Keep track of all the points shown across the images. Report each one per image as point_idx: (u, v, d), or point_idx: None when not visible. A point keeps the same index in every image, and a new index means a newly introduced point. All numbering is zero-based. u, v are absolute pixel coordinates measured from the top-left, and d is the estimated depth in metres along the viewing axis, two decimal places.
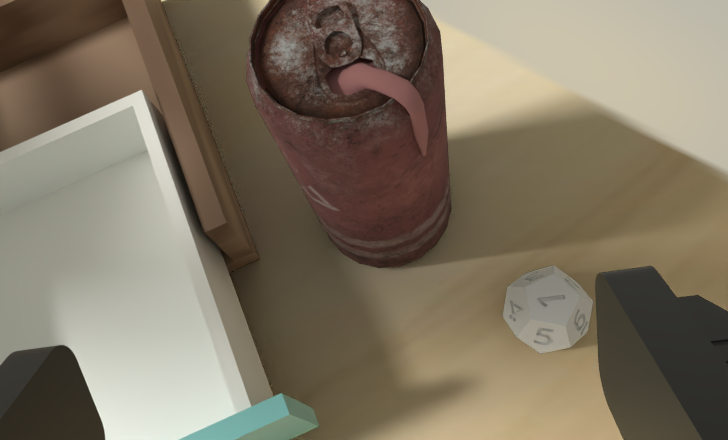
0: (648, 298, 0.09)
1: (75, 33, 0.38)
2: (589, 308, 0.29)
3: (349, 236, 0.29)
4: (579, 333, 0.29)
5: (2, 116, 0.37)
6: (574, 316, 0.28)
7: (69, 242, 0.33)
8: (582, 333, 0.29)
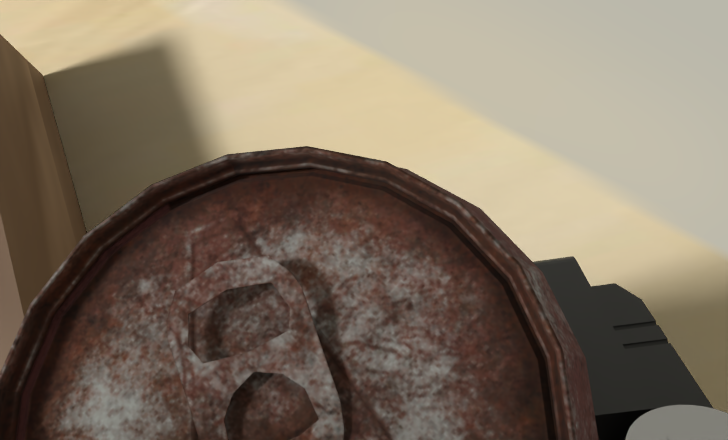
0: (563, 285, 0.09)
1: None
2: None
3: None
4: None
5: None
6: None
7: None
8: None
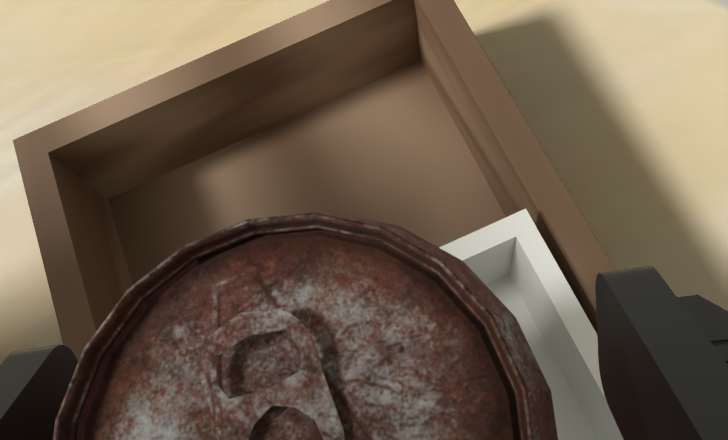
0: (648, 298, 0.09)
1: (326, 95, 0.26)
2: None
3: None
4: None
5: (226, 221, 0.25)
6: None
7: None
8: None
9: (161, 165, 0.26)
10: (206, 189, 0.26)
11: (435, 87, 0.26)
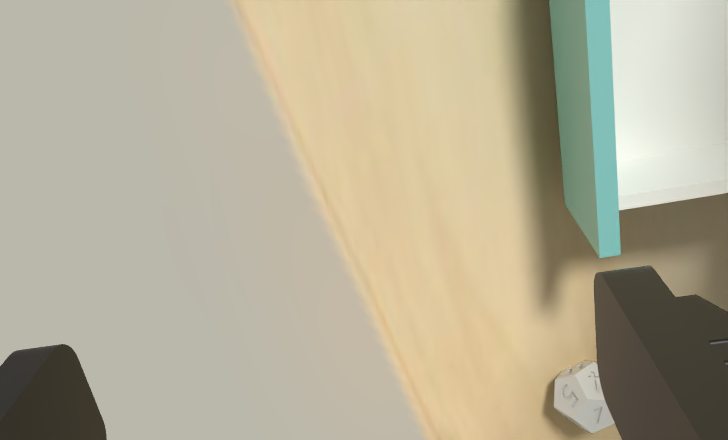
0: (646, 298, 0.09)
1: None
2: (578, 425, 0.36)
3: None
4: (561, 413, 0.36)
5: None
6: (577, 423, 0.35)
7: None
8: (560, 412, 0.36)
9: None
10: None
11: None
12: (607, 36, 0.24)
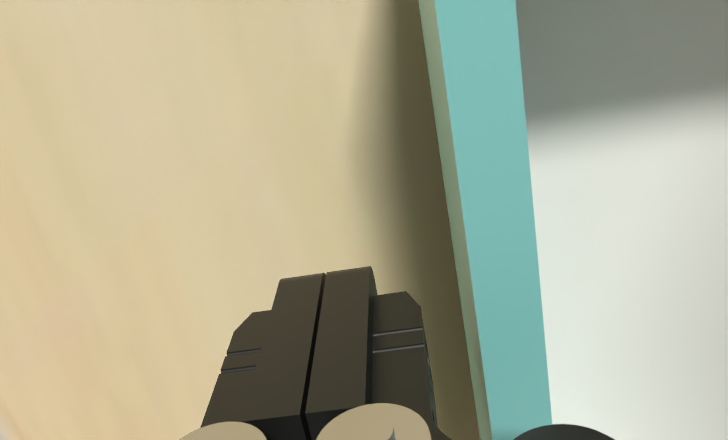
0: (346, 294, 0.10)
1: None
2: None
3: None
4: None
5: None
6: None
7: None
8: None
9: None
10: None
11: None
12: (535, 344, 0.09)
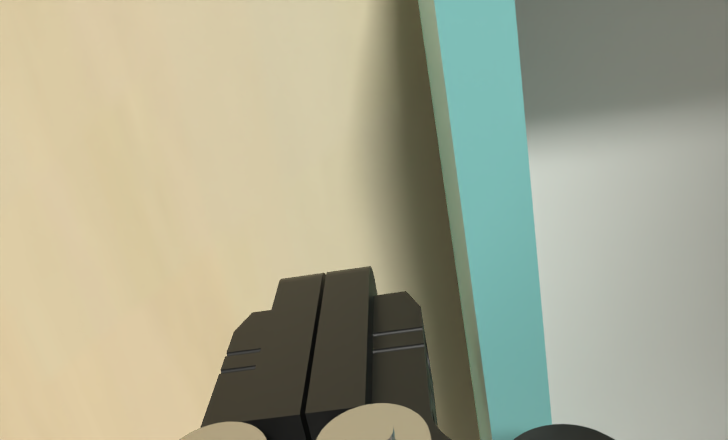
0: (346, 294, 0.10)
1: None
2: None
3: None
4: None
5: None
6: None
7: None
8: None
9: None
10: None
11: None
12: (535, 343, 0.09)
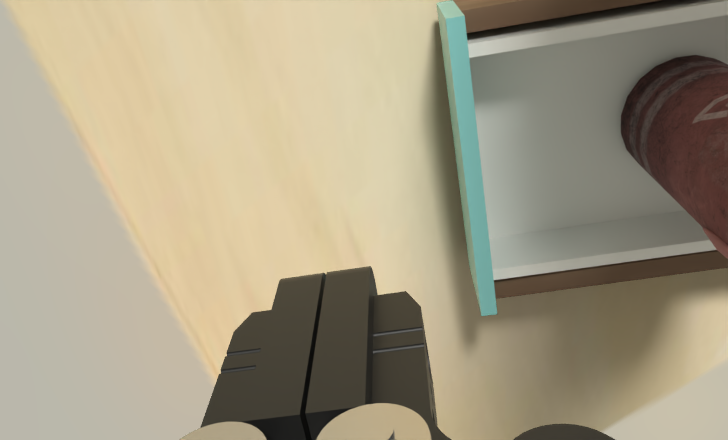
0: (347, 294, 0.10)
1: None
2: None
3: (666, 101, 0.31)
4: None
5: None
6: None
7: None
8: None
9: None
10: None
11: None
12: (477, 158, 0.32)
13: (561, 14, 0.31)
